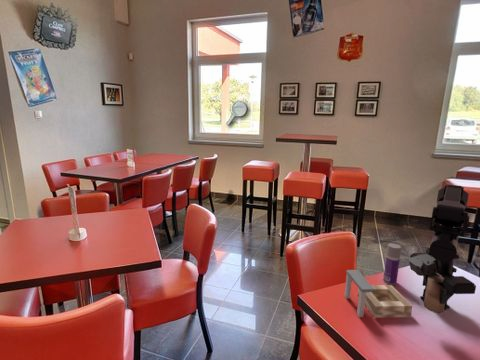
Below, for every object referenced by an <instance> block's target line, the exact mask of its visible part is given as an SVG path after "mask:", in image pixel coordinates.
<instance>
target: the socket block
mask: <svg viewBox="0 0 480 360" xmlns="http://www.w3.org/2000/svg"><path fill="white" fill-rule="evenodd" d="M370 285H371V286H372V287H373V288H374V289H375V291H374V292H366V296H365V305H364V307H366V309H367V310H368V311H369V312H370V314H371V315H372V317H373V318H374V319H375V318H377V319H380V318H381V319H386V318H411V317H412V312H413V305H412V304H411V303H410V301H408V300H407V299H406V298H405V297H404V296H403V295H402V294H401V293H400V292H399V291H398V290H397V289H396V288H395V287H394V286H393V285H390V284H377V285H376V284H375V285H372V284H370ZM359 290H360V289H359V288H358V287H357V298H359Z"/></svg>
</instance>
